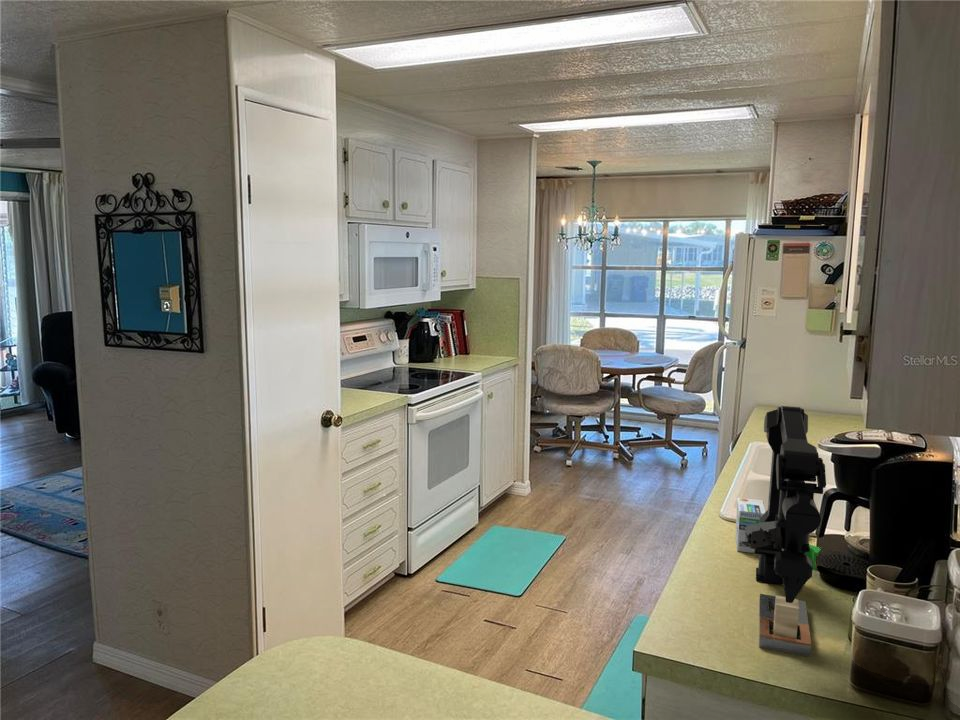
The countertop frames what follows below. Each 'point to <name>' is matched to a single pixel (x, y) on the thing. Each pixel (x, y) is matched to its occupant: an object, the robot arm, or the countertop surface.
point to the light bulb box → (747, 520)
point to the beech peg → (785, 618)
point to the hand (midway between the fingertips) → (788, 591)
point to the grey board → (780, 642)
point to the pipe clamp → (813, 554)
